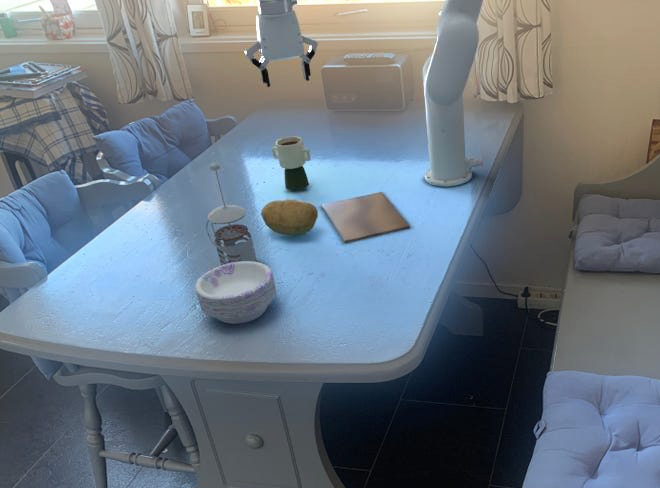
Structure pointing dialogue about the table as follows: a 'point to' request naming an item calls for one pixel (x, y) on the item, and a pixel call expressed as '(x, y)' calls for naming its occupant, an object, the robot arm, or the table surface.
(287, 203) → the potato
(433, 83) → the robot arm
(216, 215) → the french press
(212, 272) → the paper bowls
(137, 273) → the table surface
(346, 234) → the placemat
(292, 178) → the character mug
